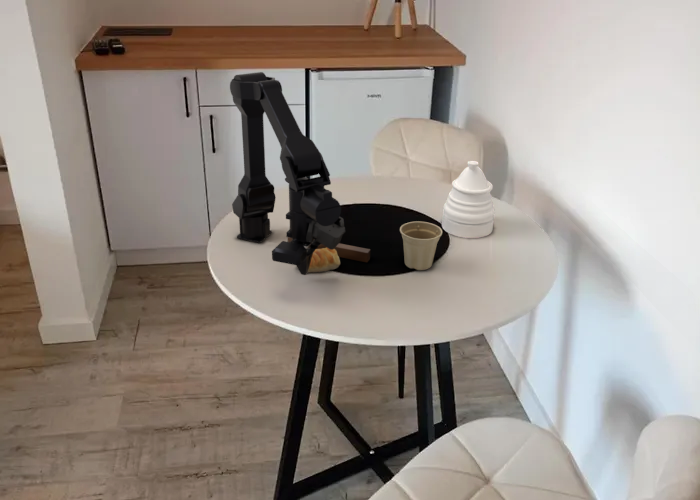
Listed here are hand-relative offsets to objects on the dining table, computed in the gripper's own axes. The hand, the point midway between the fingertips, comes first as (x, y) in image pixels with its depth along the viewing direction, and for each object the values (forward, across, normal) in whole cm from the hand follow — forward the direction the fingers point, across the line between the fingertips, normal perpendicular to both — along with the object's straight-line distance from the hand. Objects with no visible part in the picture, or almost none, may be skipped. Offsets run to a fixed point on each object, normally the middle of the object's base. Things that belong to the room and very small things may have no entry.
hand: (304, 274), depth 146 cm
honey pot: (+2, +41, -27) cm, 49 cm away
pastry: (+2, +8, -1) cm, 8 cm away
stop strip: (+2, +14, 0) cm, 14 cm away
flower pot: (+2, +17, -21) cm, 27 cm away
